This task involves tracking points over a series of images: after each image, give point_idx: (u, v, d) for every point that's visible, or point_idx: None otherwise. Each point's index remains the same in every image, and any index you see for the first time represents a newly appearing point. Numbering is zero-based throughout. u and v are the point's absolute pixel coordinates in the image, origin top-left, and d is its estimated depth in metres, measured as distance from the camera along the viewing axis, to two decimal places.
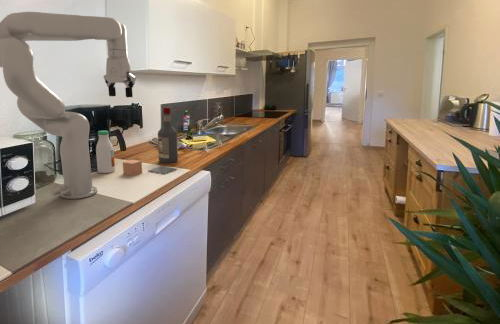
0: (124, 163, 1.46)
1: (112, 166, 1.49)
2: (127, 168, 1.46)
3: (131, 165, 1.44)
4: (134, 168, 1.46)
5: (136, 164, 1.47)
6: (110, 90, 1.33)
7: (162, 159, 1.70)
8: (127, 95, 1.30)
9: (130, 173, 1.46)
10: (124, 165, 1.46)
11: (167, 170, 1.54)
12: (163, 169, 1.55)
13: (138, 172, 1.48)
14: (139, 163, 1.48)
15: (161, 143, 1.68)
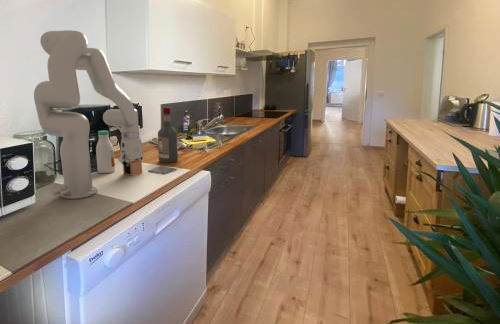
0: None
1: (112, 166, 1.49)
2: None
3: (131, 164, 1.44)
4: (134, 168, 1.46)
5: (136, 163, 1.47)
6: None
7: (162, 159, 1.70)
8: None
9: (130, 173, 1.46)
10: None
11: (167, 170, 1.54)
12: (163, 169, 1.55)
13: (138, 172, 1.48)
14: (139, 163, 1.48)
15: (161, 143, 1.68)
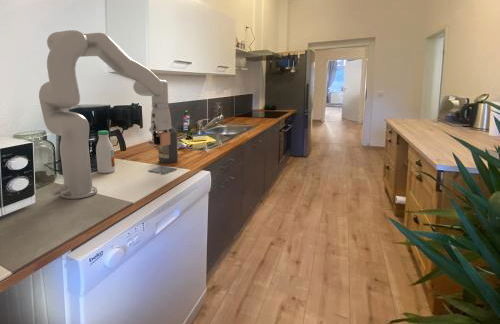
0: None
1: (112, 166, 1.49)
2: None
3: (161, 135, 1.47)
4: (163, 139, 1.49)
5: (165, 134, 1.50)
6: None
7: (162, 159, 1.70)
8: None
9: None
10: (153, 136, 1.49)
11: (167, 170, 1.54)
12: (163, 169, 1.55)
13: (167, 143, 1.51)
14: (168, 134, 1.51)
15: None
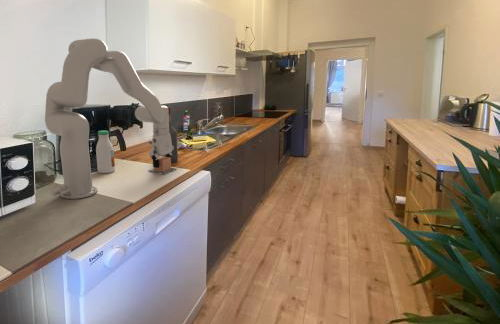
0: None
1: (112, 166, 1.49)
2: None
3: (162, 161, 1.50)
4: (164, 164, 1.52)
5: (166, 160, 1.53)
6: None
7: None
8: None
9: (160, 169, 1.52)
10: None
11: (167, 170, 1.54)
12: None
13: (168, 168, 1.54)
14: (169, 159, 1.54)
15: None
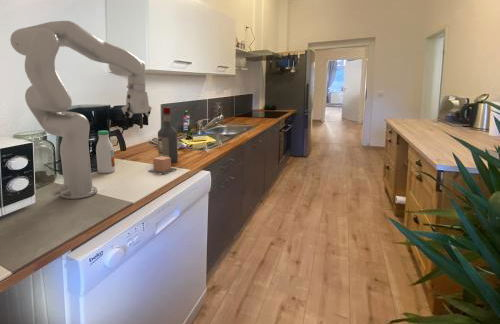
0: (155, 159, 1.52)
1: (112, 166, 1.49)
2: (157, 164, 1.52)
3: (162, 161, 1.50)
4: (164, 164, 1.52)
5: (166, 160, 1.53)
6: None
7: None
8: None
9: (160, 169, 1.52)
10: (154, 162, 1.52)
11: (167, 170, 1.54)
12: None
13: (168, 168, 1.54)
14: (169, 159, 1.54)
15: (161, 143, 1.68)
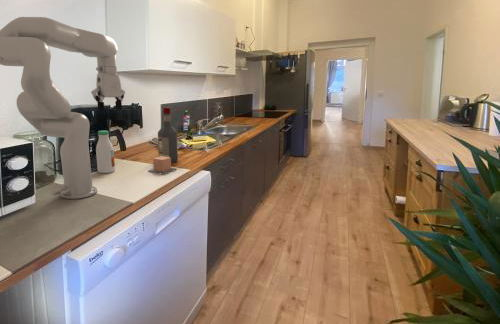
0: (155, 159, 1.52)
1: (112, 166, 1.49)
2: (157, 164, 1.52)
3: (162, 161, 1.50)
4: (164, 164, 1.52)
5: (166, 160, 1.53)
6: None
7: None
8: None
9: (160, 169, 1.52)
10: (154, 162, 1.52)
11: (167, 170, 1.54)
12: None
13: (168, 168, 1.54)
14: (169, 159, 1.54)
15: (161, 143, 1.68)
